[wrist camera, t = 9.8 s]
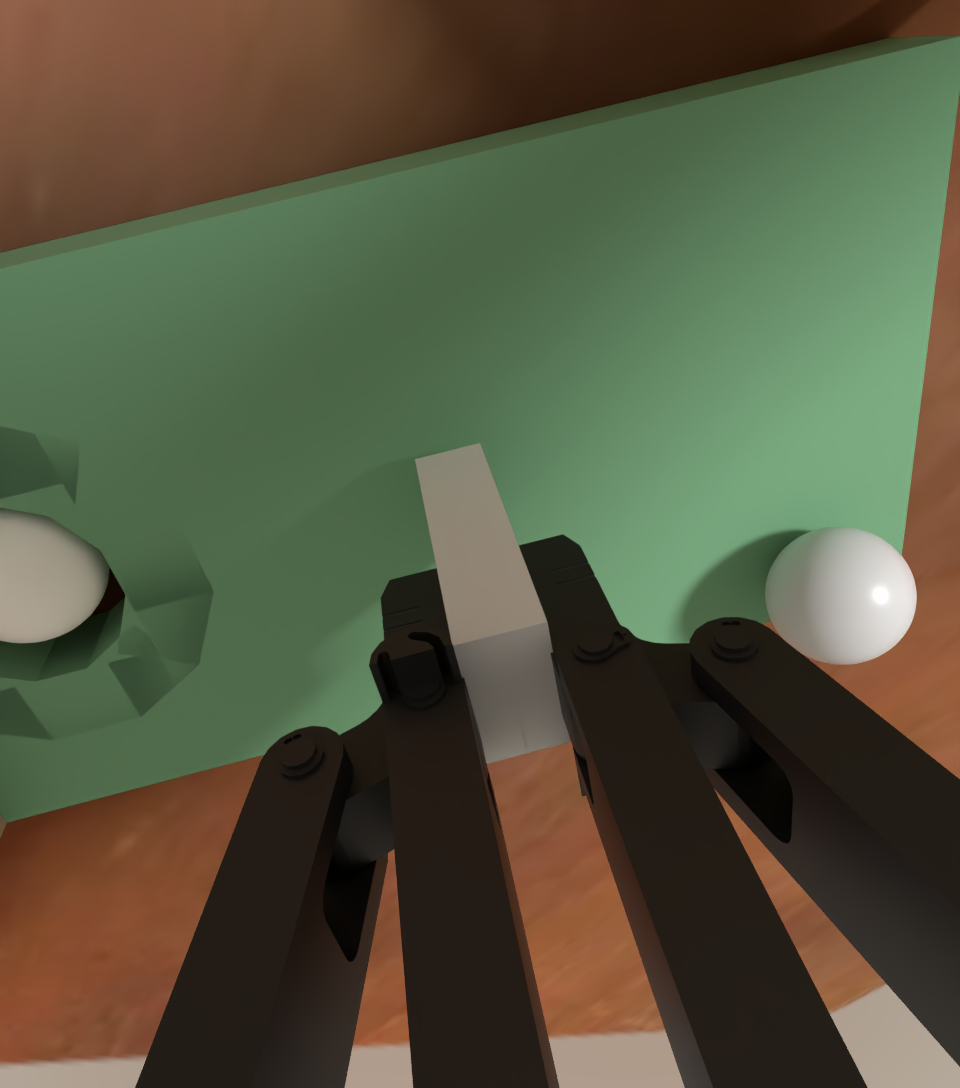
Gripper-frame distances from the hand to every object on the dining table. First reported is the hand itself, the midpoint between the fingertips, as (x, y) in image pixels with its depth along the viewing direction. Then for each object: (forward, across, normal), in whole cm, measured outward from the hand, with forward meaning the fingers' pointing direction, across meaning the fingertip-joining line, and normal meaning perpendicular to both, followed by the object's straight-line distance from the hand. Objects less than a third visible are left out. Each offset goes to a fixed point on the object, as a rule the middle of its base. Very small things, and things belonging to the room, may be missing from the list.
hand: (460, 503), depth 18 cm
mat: (+4, -2, 0) cm, 4 cm away
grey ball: (-1, +9, -5) cm, 10 cm away
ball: (+2, -11, 0) cm, 11 cm away
